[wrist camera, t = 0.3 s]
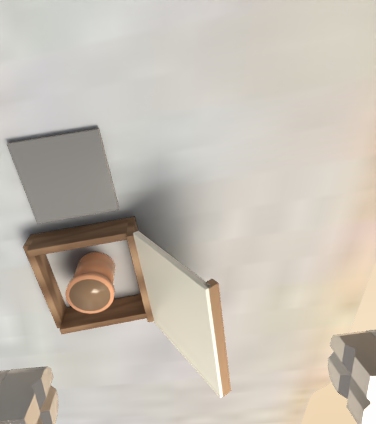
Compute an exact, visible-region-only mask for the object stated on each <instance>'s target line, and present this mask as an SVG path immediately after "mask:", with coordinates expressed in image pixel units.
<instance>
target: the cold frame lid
mask: <svg viewBox="0 0 376 424" xmlns="http://www.w3.org/2000/svg"><path fill="white" fill-rule="evenodd" d="M133 235H134V240H135V244H136V248H137V252H138V256H139V260H140V264H141V269H142V273H143V277H144V281H145V285H146V289H147V293H148V298H149V302H150V306H151V310H152V314H153V318H154V322H155V324H156V325H157V326H158V327H159V329H160V330H161V331H162V332H163V333H164V334H165V335H166V337H167V338H168V339H169V340H170V341H171V342H172V343H173V345H174V346H175V347H176V348H177V349H178V350H179V351H180V353H181V354H182V355H183V356H184V357H185V358H186V359H187V361H188V362H189V363H190V364H191V365H192V366H193V367H194V369H195V370H196V371H197V372H198V373H199V374H200V375H201V377H202V378H203V379H204V380H205V381H206V382H207V383H208V385H209V386H210V387H211V388H212V389H213V390H214V391H215V393H216V394H217V395H218V396H219V397H220V398H221V397H224V396H225V395H226V394H228V393H229V392H230V391H231V387H230V379H229V370H228V361H227V353H226V344H225V335H224V327H223V318H222V309H221V301H220V292H219V283H218V282H216V281H215V280H214V279H211V280H209V281H207V282H205V281H204V280H203V279H201V278H200V277H199V276H197V275H196V274H195V273H193V272H192V271H191V270H189V269H188V268H187V267H185V266H184V265H183V264H181V263H180V262H179V261H177V260H176V259H175V258H174V257H172V256H171V255H170V254H168V253H167V252H166V251H164V250H163V249H162V248H160V247H159V246H158V245H156V244H155V243H154V242H152V241H151V240H150V239H148V238H147V237H146V236H144V235H143V234H142V233H140V232H139V231H136V232H134V233H133Z"/></svg>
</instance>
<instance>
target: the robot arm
mask: <svg viewBox="0 0 376 424" xmlns="http://www.w3.org/2000/svg"><path fill="white" fill-rule="evenodd" d="M330 346H331V348H332V349H333V351H334V352H333V354H332V355H331V356H330V357H329V360H328V370H329V375H330V379H331V381H332V383H333V386H334V387H335V389H336V390H337V392H338V393H339V394H341V395H342V396H344V397H345V398H347V399H348V400H347V408H348V410H349V411H350V413H351V414H352V416H353V417H354V419H355V420H356V422H357V424H376V330H369V331H362V332H354V333H346V334H337V335H333V337H332V338H331V343H330ZM52 380H53V374H52V370H51V368H50V367H36V368H24V369H12V370H6V371H0V424H55V422H56V419H57V412H58V395H57V390H56V389H55V388H54V387H52V386H51V382H52Z"/></svg>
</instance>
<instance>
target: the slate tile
mask: <svg viewBox="0 0 376 424" xmlns="http://www.w3.org/2000/svg"><path fill="white" fill-rule="evenodd" d="M7 146H8V149H9V151H10V154H11V156H12V159H13V162H14V164H15V167H16V169H17V172H18V175H19V177H20V180H21V182H22V185H23V187H24V190H25V193H26V195H27V198H28V200H29V203H30V206H31V208H32V211H33V213H34V216H35V219H36V221H37V224H40V223H46V222H52V221H58V220H63V219H69V218H75V217H81V216H87V215H92V214H98V213H104V212H110V211H116V210H119V205H118V201H117V197H116V193H115V189H114V186H113V182H112V178H111V174H110V170H109V166H108V162H107V158H106V154H105V150H104V146H103V142H102V138H101V134H100V130H99V128H97V129H90V130H84V131H78V132H72V133H65V134H59V135H53V136H46V137H40V138H34V139H28V140H21V141H15V142H9V143H8V144H7Z"/></svg>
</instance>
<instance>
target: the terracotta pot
mask: <svg viewBox="0 0 376 424" xmlns="http://www.w3.org/2000/svg"><path fill="white" fill-rule="evenodd" d="M114 273H115V264H114V262H113V260H112V259H111V258H110V257H109V256H108V255H106V254H104V253H100V252H92V253H88V254H86V255H84V256H83V257H82V258H81V259H80V260H79V262H78V265H77V268H76V271H75V274H74V277H73V278H72V279H71V281H70V282H69V284H68V287H67V290H66V299H67V302H68V303H69V305H70V306H71V307H72V308H74V309H75V310H77V311H79V312H82V313H89V314H92V313H98V312H101V311H104V310H105V309H107V308H108V307H109V306H110V305H111V304H112V302H113V299H114V292H115V290H114V286H113V280H114Z"/></svg>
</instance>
